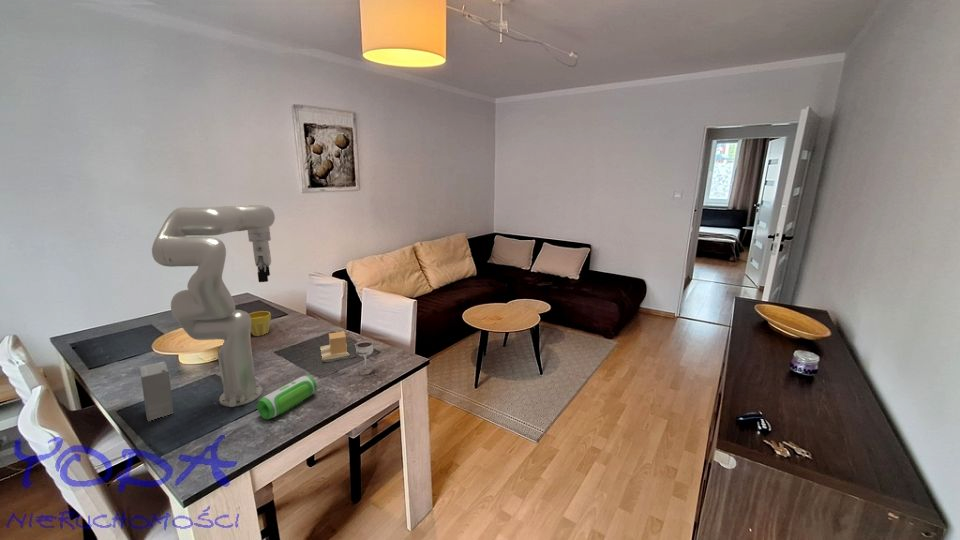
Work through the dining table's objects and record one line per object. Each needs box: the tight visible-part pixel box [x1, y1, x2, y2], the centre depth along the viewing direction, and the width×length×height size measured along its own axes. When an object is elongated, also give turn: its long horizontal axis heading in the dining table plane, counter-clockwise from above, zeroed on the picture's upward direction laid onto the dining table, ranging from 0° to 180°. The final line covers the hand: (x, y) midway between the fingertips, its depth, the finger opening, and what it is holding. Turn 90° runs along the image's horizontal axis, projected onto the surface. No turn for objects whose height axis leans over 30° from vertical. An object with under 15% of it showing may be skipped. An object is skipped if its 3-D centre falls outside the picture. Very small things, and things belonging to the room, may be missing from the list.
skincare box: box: [139, 360, 174, 422], centre depth 117 cm, size 8×7×16 cm
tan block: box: [328, 330, 347, 354], centre depth 161 cm, size 6×6×7 cm
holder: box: [319, 344, 350, 362], centre depth 161 cm, size 14×14×6 cm
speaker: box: [256, 375, 318, 420], centre depth 124 cm, size 18×7×8 cm, turn 153°
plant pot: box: [248, 310, 272, 337], centre depth 179 cm, size 10×10×10 cm
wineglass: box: [354, 339, 374, 369], centre depth 146 cm, size 7×7×12 cm
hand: (264, 278), depth 150 cm, fingers open, 9 cm apart
